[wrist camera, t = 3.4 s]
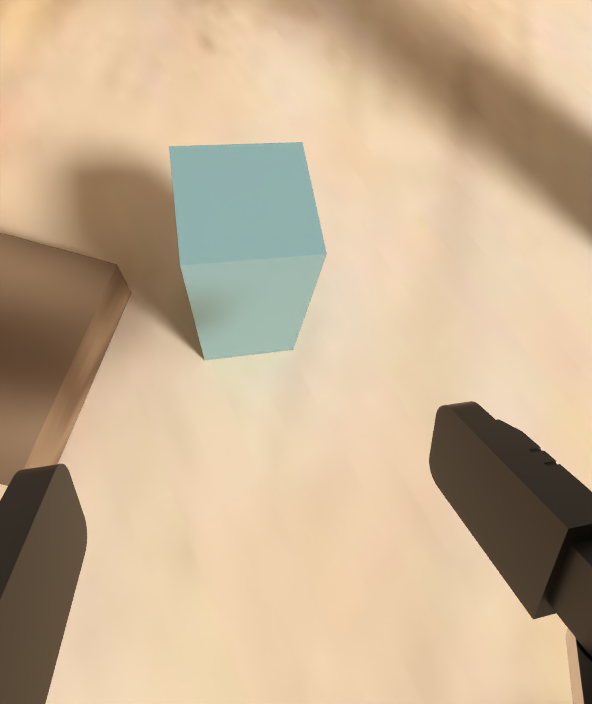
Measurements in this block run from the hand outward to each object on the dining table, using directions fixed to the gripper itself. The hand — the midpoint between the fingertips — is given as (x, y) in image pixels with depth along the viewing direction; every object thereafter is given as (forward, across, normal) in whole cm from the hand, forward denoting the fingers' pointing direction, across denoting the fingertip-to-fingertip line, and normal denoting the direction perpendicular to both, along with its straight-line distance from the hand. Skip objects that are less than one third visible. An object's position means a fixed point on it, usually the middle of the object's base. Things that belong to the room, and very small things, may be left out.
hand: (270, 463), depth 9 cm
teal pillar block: (+16, +1, -3) cm, 16 cm away
